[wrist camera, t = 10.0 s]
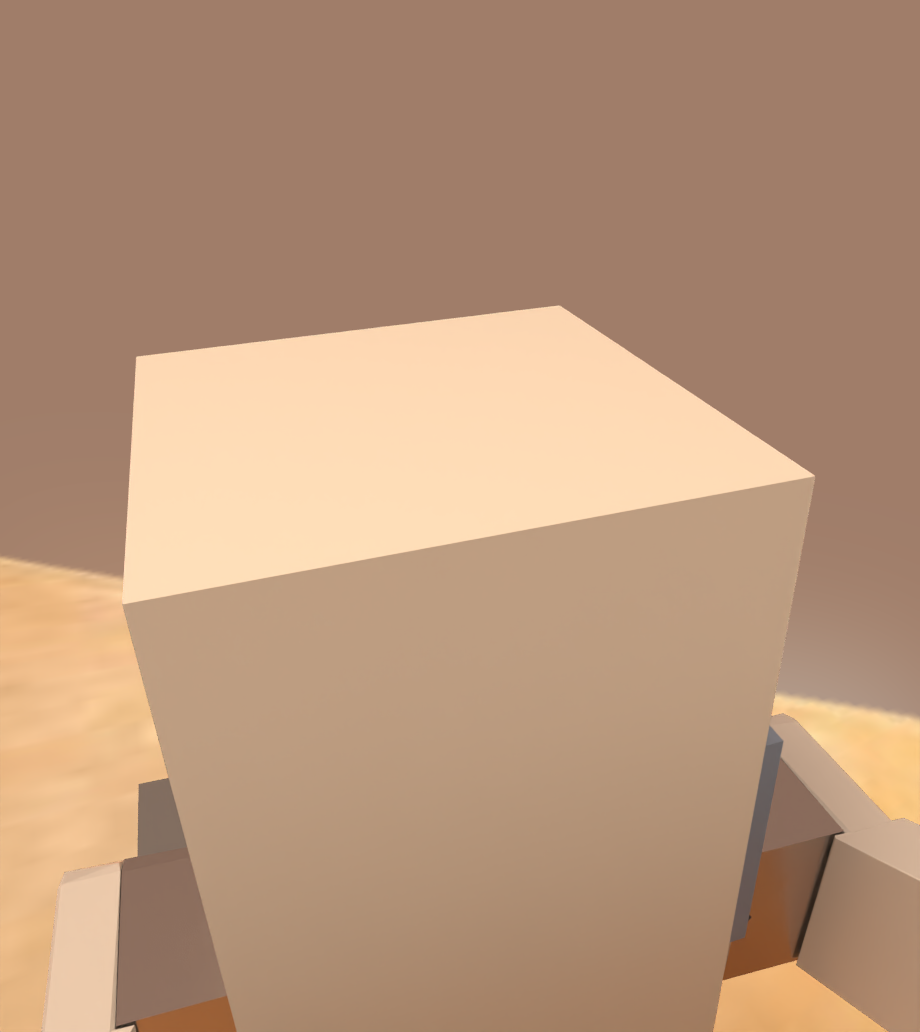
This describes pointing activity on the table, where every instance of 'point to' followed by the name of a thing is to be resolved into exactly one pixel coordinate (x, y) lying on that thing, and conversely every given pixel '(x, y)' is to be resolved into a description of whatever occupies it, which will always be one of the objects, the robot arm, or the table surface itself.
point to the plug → (461, 671)
